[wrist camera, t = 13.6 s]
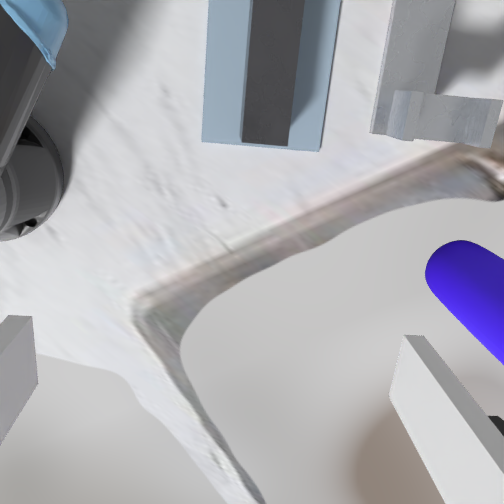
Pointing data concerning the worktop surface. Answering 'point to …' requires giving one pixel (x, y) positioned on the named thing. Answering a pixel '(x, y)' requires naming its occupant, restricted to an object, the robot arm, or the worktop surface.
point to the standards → (425, 82)
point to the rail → (270, 70)
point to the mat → (233, 66)
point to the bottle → (471, 290)
